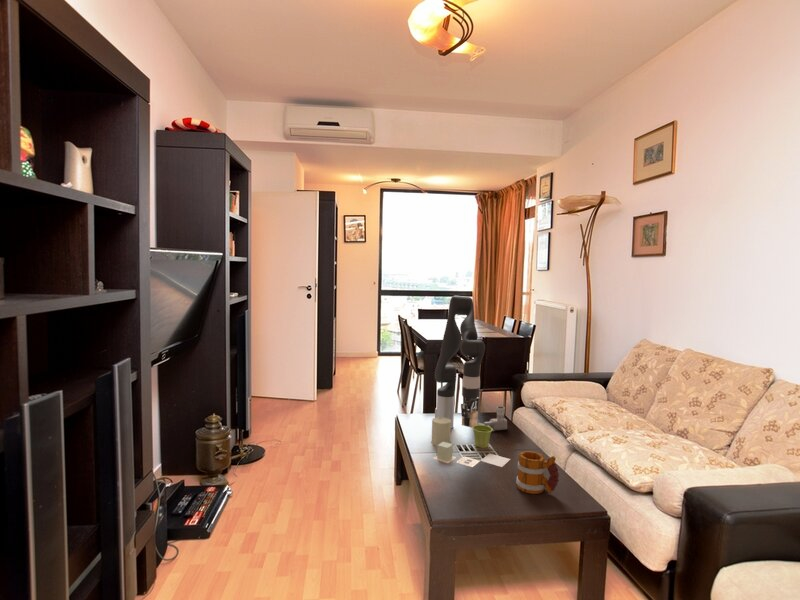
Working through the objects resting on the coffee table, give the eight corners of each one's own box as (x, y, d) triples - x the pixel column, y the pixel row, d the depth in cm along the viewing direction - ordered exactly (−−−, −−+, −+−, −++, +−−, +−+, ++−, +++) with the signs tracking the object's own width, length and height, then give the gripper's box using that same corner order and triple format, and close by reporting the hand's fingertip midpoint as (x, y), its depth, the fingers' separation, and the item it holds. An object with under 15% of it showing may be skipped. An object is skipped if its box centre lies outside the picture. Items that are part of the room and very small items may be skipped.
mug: (522, 478, 182) (523, 442, 181) (562, 491, 171) (564, 453, 170) (510, 487, 173) (512, 450, 172) (552, 502, 163) (554, 462, 162)
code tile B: (432, 459, 197) (432, 458, 197) (441, 453, 204) (441, 452, 204) (448, 463, 193) (448, 463, 193) (456, 457, 200) (456, 457, 200)
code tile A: (455, 462, 194) (455, 462, 194) (463, 456, 201) (463, 456, 201) (472, 467, 190) (472, 467, 190) (480, 461, 196) (480, 460, 196)
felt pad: (480, 461, 196) (480, 460, 196) (489, 454, 205) (489, 453, 204) (501, 467, 191) (501, 466, 191) (510, 460, 199) (510, 459, 199)
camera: (510, 409, 234) (483, 411, 231) (509, 431, 235) (483, 433, 232) (502, 404, 243) (476, 406, 239) (501, 425, 244) (476, 427, 240)
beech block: (461, 425, 194) (462, 411, 193) (466, 422, 198) (467, 408, 197) (472, 427, 191) (472, 414, 190) (477, 424, 195) (477, 411, 194)
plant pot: (490, 442, 218) (491, 425, 218) (492, 450, 209) (493, 432, 209) (471, 441, 219) (472, 424, 219) (472, 449, 210) (473, 431, 209)
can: (446, 439, 221) (447, 415, 220) (453, 446, 212) (454, 421, 212) (428, 440, 219) (429, 416, 218) (434, 447, 210) (435, 423, 209)
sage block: (437, 458, 198) (437, 445, 197) (442, 454, 202) (443, 441, 202) (447, 461, 195) (447, 447, 195) (452, 457, 199) (452, 444, 199)
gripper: (470, 381, 201) (469, 417, 202) (455, 387, 189) (454, 426, 190) (486, 383, 197) (484, 421, 198) (471, 390, 185) (470, 430, 186)
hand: (469, 423), depth 194 cm, fingers closed on beech block, 5 cm apart
